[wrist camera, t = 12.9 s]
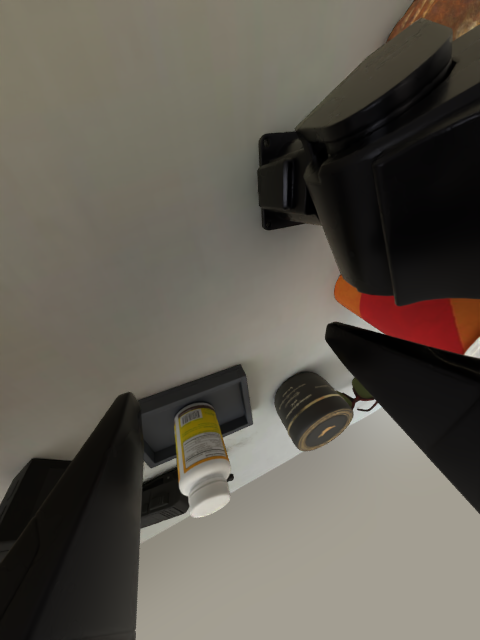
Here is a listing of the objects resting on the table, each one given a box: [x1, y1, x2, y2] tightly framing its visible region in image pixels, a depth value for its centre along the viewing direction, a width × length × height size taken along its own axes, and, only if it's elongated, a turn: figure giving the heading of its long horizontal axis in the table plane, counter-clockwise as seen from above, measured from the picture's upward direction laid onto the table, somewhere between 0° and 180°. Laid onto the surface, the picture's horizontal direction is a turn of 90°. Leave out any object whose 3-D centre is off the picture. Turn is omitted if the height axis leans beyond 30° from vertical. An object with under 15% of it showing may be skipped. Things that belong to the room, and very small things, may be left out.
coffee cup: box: [334, 275, 480, 358], centre depth 20 cm, size 8×8×15 cm
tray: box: [138, 365, 253, 468], centre depth 27 cm, size 16×12×2 cm
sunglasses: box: [336, 378, 378, 411], centre depth 42 cm, size 14×15×5 cm
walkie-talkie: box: [140, 469, 234, 529], centre depth 32 cm, size 6×6×20 cm
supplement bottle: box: [174, 403, 231, 518], centre depth 23 cm, size 6×6×10 cm
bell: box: [386, 0, 480, 43], centre depth 14 cm, size 12×12×7 cm
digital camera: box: [0, 459, 71, 563], centre depth 23 cm, size 10×5×7 cm, turn 43°
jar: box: [275, 372, 353, 451], centre depth 31 cm, size 10×10×8 cm
